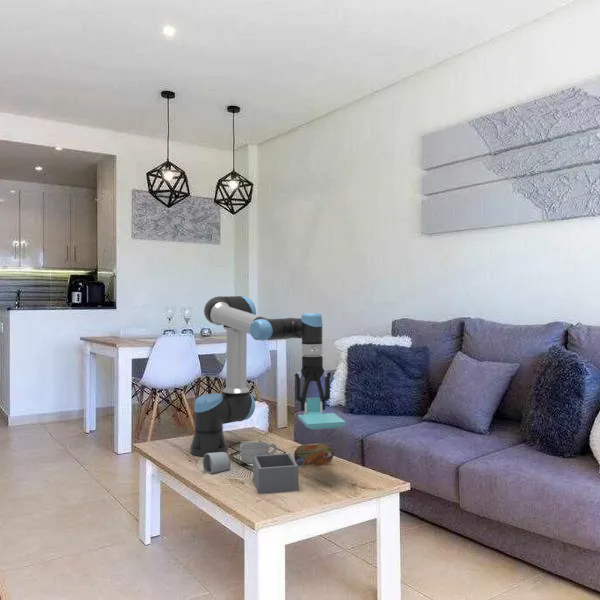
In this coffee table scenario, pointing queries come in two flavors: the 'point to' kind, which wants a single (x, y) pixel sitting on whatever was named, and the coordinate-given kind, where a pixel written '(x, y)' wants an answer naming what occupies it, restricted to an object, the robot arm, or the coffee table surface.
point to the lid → (319, 416)
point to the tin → (313, 454)
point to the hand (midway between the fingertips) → (312, 419)
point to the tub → (275, 473)
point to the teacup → (255, 450)
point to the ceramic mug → (216, 462)
